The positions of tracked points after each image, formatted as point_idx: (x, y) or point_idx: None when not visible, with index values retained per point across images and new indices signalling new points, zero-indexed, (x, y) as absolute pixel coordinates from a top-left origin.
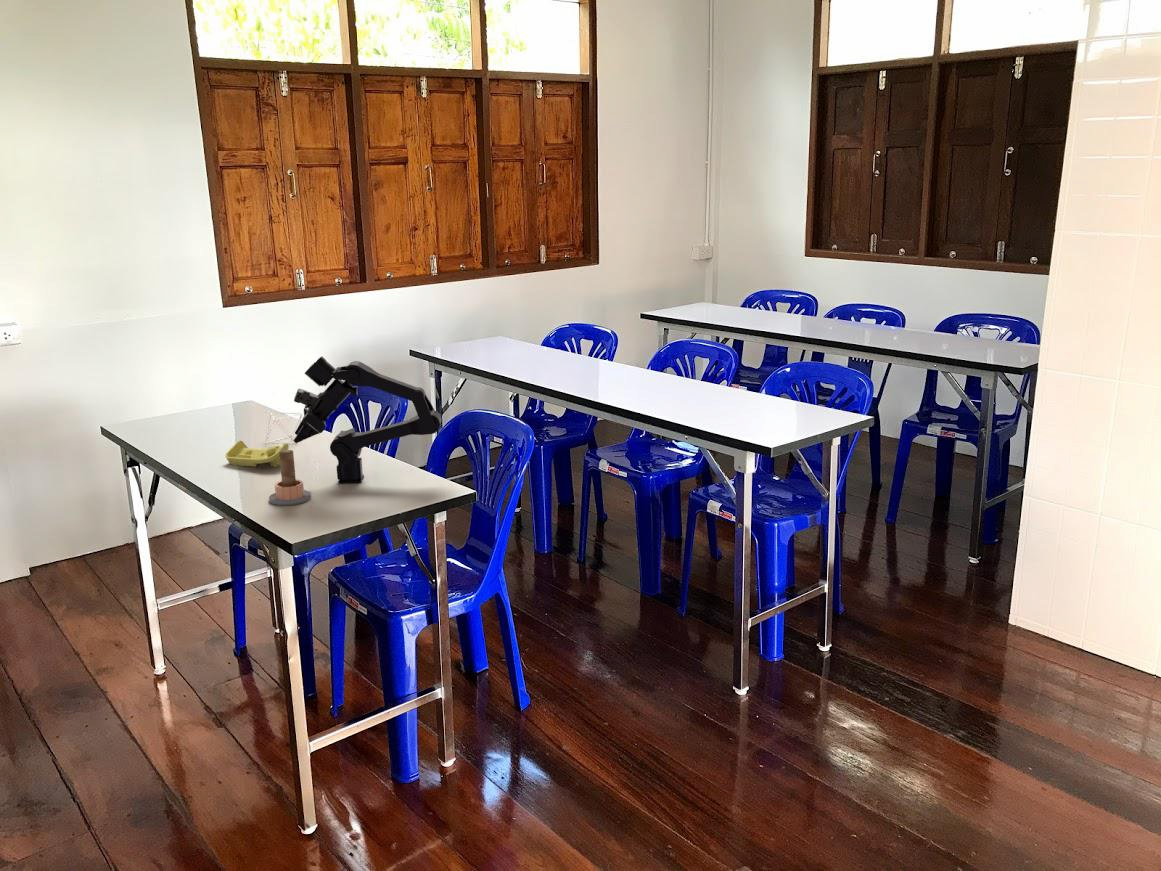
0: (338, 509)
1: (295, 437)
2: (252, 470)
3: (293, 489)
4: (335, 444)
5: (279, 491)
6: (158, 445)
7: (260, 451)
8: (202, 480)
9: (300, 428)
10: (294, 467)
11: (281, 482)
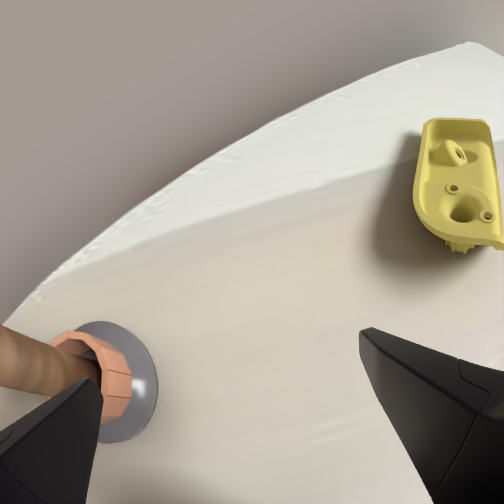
0: None
1: (66, 391)
2: (400, 194)
3: None
4: None
5: None
6: (458, 63)
7: (477, 178)
8: (301, 122)
9: (389, 379)
10: (30, 392)
11: (92, 348)
